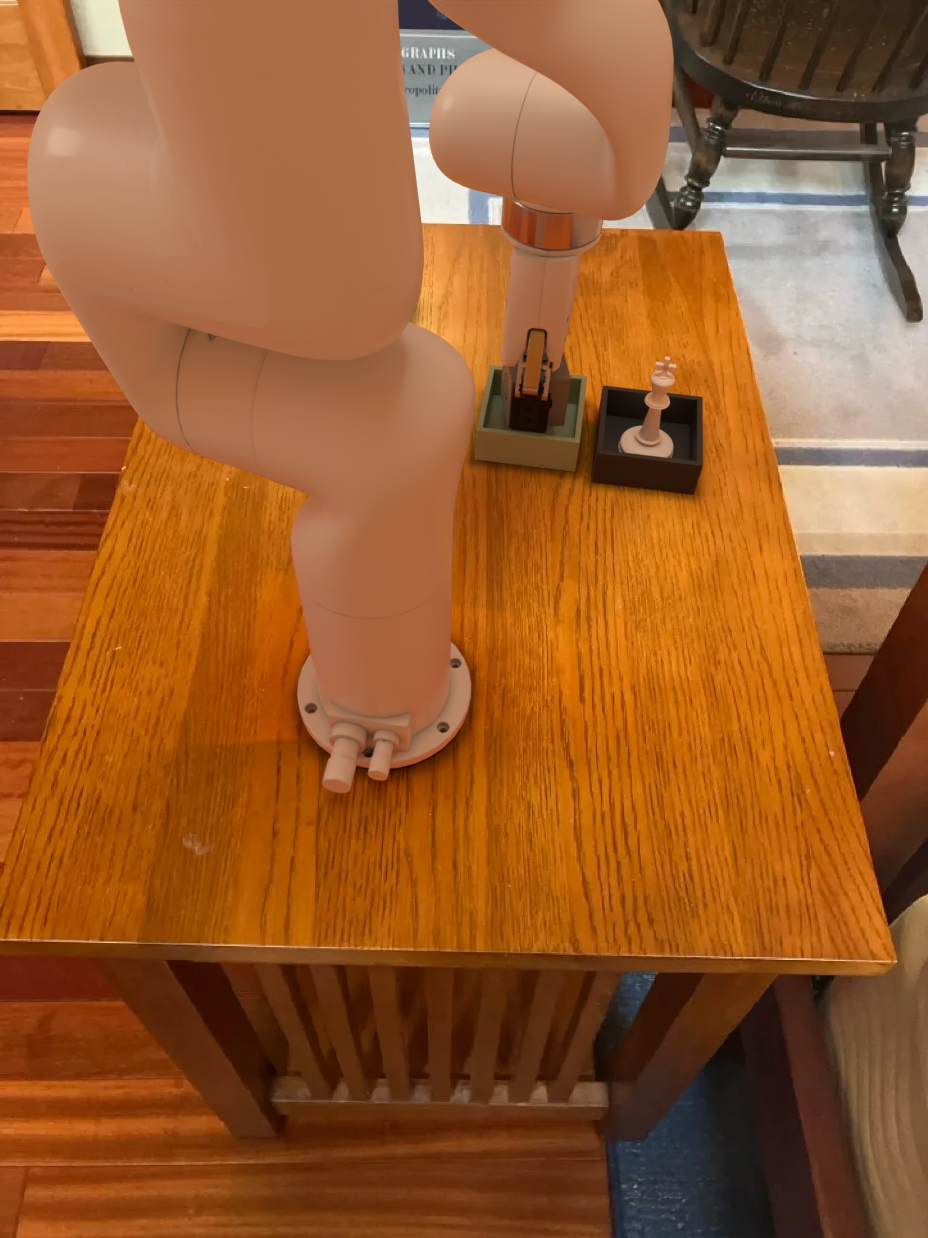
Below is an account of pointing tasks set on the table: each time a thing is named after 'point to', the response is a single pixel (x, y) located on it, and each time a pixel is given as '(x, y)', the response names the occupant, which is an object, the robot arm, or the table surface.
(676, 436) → the charcoal bin
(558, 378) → the dice cube
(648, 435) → the chess piece
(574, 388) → the sage bin
